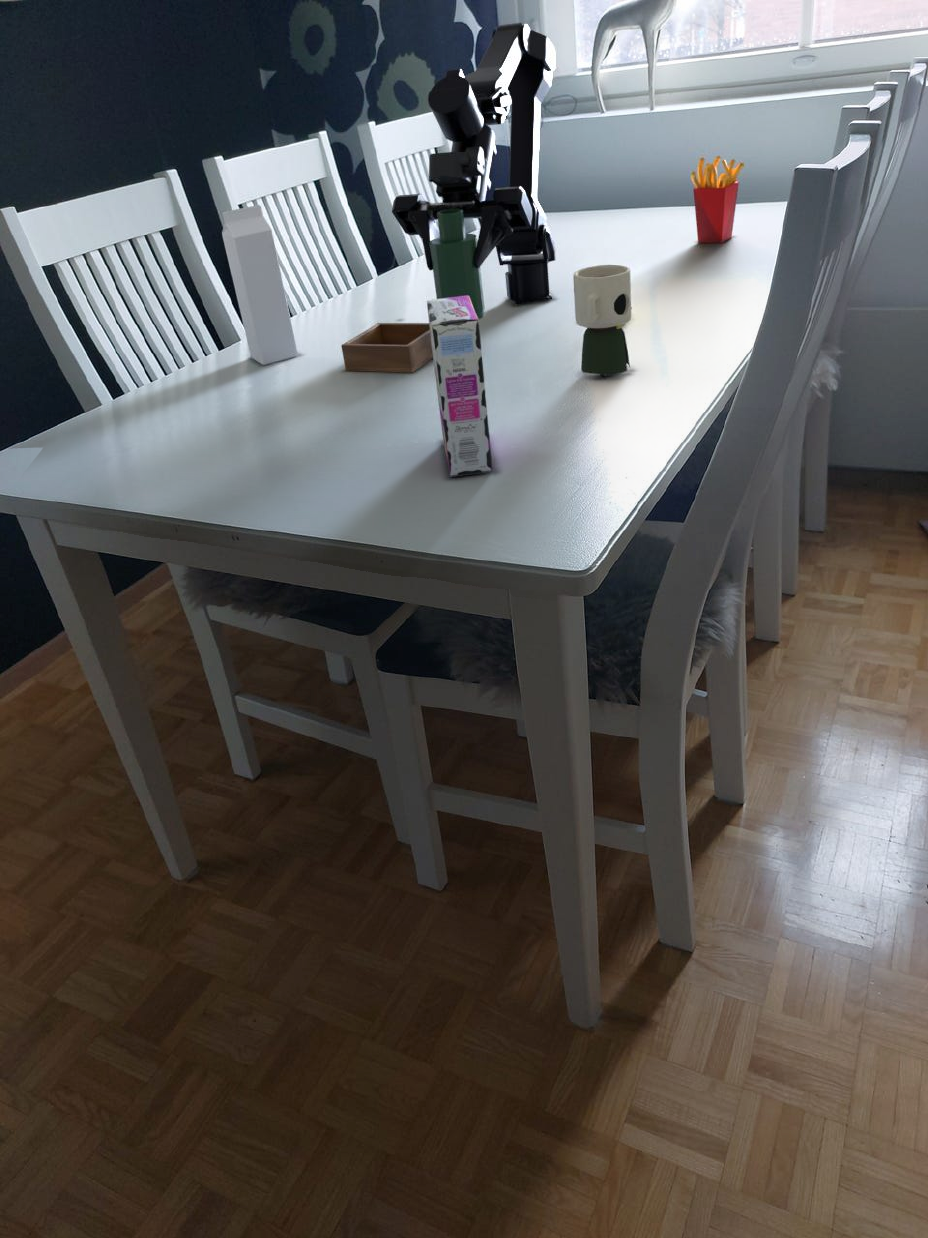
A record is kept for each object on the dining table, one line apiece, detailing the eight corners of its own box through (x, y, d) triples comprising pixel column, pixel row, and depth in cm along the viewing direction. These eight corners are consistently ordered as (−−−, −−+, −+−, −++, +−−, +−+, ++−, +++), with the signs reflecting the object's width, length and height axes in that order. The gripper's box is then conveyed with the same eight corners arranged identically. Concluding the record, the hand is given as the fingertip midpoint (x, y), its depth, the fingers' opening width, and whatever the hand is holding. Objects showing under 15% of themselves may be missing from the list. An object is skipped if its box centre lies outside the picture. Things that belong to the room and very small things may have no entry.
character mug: (620, 387, 119) (617, 281, 112) (566, 386, 122) (560, 282, 115) (642, 360, 127) (641, 259, 120) (591, 359, 130) (587, 260, 123)
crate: (382, 347, 147) (378, 322, 145) (446, 348, 143) (443, 322, 141) (345, 370, 139) (340, 344, 137) (412, 372, 134) (408, 346, 132)
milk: (298, 356, 149) (268, 206, 137) (262, 365, 146) (228, 213, 135) (285, 348, 153) (254, 202, 141) (250, 357, 151) (216, 209, 139)
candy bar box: (496, 472, 101) (480, 318, 92) (450, 479, 101) (429, 325, 92) (485, 435, 111) (469, 292, 102) (443, 441, 111) (423, 298, 102)
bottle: (480, 308, 136) (469, 203, 128) (488, 319, 130) (477, 211, 123) (436, 315, 135) (423, 211, 128) (443, 326, 130) (429, 218, 122)
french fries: (705, 235, 188) (707, 152, 180) (745, 235, 184) (749, 150, 176) (686, 245, 182) (687, 160, 174) (727, 246, 178) (730, 159, 170)
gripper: (385, 130, 126) (366, 236, 124) (518, 117, 120) (501, 228, 117) (415, 183, 137) (398, 282, 134) (540, 174, 130) (524, 277, 128)
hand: (452, 267), depth 128 cm, fingers closed on bottle, 6 cm apart
